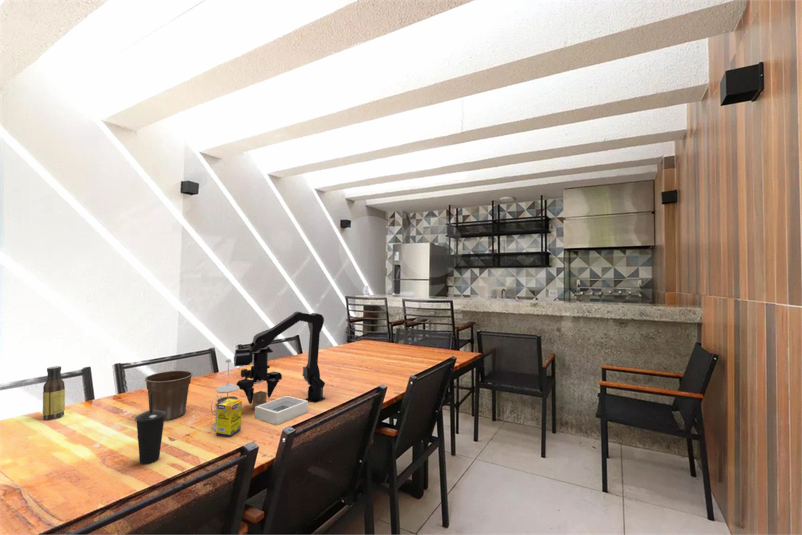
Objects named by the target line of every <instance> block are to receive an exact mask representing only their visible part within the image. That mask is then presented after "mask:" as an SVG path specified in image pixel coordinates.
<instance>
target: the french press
mask: <svg viewBox="0 0 802 535" xmlns="http://www.w3.org/2000/svg"><path fill="white" fill-rule="evenodd" d="M231 362H232V359H231V358H227V359H225V363H227V375H229V370H230V369H229V368H230V365H229V364H230V363H231ZM238 390H240V388H239V386H237V384H232V383H226V384H223V385H221V386H218V387H217V388H216V389H215V392H217V393H219V394H227V396H224V397H223V396H222V395H216V396H215V397H213V400H212V402H211V404H210V411H211V414H212V415H213V416H215V421H214V422H215V423H214V425H213V426H212V430H214V431H216V425H217V405H218V404H219V403H221V402H223V401H225V400H227V399H236V400H239V397H238V396H233V395H232V396H229V393H233V392H236V391H238ZM216 398H217V399H216ZM215 399H216V402H215V403H214V401H215ZM213 403H214V407H215V410H214V412H213Z"/></svg>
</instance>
